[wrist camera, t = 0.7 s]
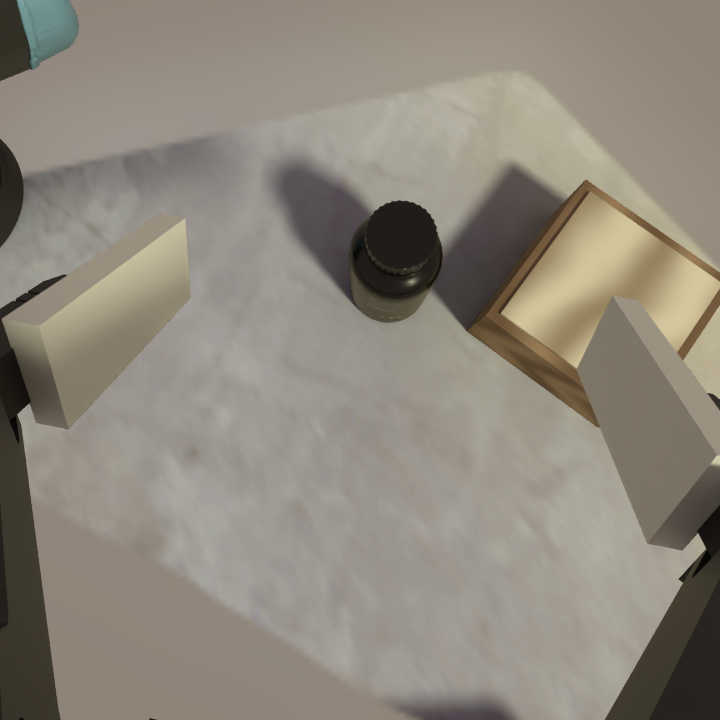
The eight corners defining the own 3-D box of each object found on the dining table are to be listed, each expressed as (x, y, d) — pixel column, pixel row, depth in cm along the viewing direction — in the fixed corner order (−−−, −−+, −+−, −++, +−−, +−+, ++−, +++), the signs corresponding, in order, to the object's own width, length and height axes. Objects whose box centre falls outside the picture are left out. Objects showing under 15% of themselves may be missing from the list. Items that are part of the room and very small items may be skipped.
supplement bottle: (441, 289, 44) (475, 238, 32) (385, 339, 43) (398, 306, 31) (390, 235, 44) (404, 164, 32) (333, 283, 43) (327, 229, 32)
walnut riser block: (466, 331, 43) (486, 315, 37) (554, 212, 45) (587, 177, 39) (597, 427, 42) (640, 427, 36) (682, 302, 44) (737, 281, 38)
